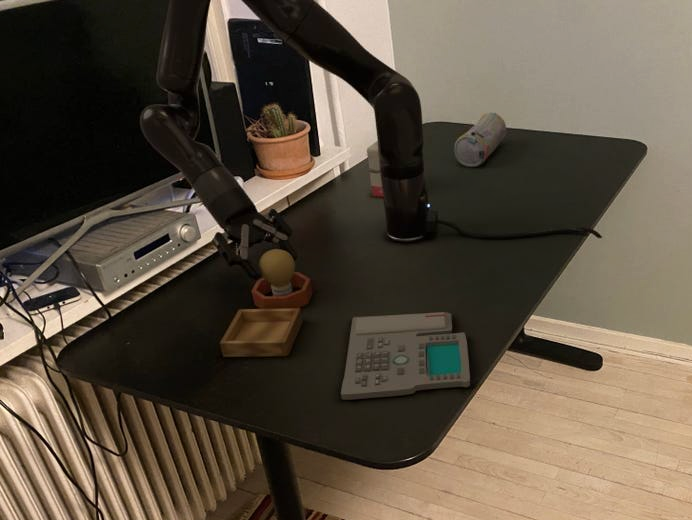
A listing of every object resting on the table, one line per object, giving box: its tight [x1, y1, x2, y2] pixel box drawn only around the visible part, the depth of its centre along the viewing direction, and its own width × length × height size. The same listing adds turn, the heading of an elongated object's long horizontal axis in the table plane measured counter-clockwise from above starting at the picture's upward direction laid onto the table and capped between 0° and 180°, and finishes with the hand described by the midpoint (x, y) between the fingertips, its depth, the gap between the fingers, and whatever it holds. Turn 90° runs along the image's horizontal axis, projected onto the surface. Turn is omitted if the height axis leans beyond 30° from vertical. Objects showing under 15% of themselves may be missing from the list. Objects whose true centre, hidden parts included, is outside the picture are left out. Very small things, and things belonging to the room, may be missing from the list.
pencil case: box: [453, 112, 507, 168], centre depth 198 cm, size 21×9×10 cm, turn 160°
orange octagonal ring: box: [251, 271, 314, 309], centre depth 138 cm, size 10×10×3 cm
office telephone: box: [340, 311, 471, 401], centre depth 121 cm, size 23×3×20 cm
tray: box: [219, 307, 304, 358], centre depth 126 cm, size 11×11×3 cm
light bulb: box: [258, 248, 296, 296], centre depth 136 cm, size 6×6×10 cm
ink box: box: [366, 140, 383, 198], centre depth 179 cm, size 9×5×12 cm, turn 161°
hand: (277, 268), depth 135 cm, fingers open, 8 cm apart
